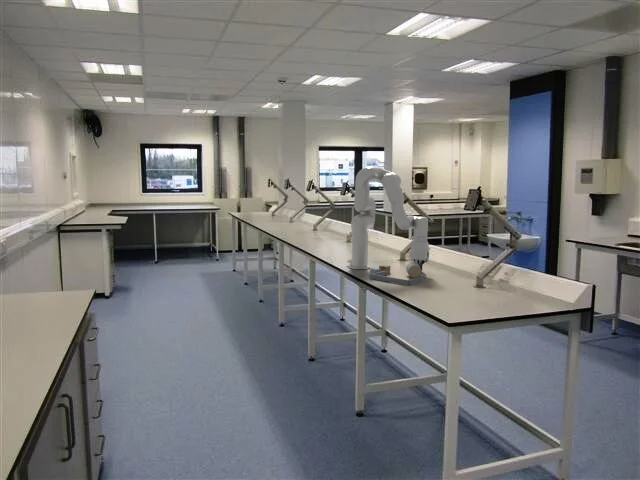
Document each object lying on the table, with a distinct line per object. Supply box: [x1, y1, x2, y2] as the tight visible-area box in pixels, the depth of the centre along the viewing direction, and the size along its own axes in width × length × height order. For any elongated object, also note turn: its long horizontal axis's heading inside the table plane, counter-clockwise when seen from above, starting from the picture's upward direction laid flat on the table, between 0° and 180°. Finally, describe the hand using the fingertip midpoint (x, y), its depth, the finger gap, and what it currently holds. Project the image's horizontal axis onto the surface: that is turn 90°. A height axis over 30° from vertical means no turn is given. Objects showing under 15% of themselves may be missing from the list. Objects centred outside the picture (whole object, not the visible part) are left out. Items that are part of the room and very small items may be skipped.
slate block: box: [369, 267, 380, 275], centre depth 282 cm, size 4×4×4 cm
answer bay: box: [369, 271, 424, 286], centre depth 270 cm, size 24×14×2 cm, turn 47°
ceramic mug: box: [405, 261, 427, 279], centre depth 279 cm, size 11×8×8 cm
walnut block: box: [378, 264, 391, 275], centre depth 288 cm, size 4×4×4 cm
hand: (419, 271), depth 287 cm, fingers closed
